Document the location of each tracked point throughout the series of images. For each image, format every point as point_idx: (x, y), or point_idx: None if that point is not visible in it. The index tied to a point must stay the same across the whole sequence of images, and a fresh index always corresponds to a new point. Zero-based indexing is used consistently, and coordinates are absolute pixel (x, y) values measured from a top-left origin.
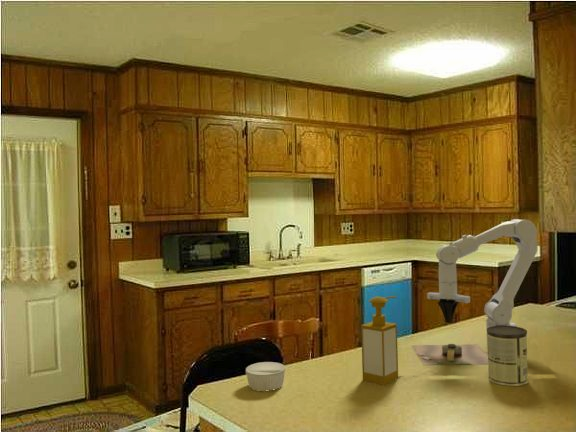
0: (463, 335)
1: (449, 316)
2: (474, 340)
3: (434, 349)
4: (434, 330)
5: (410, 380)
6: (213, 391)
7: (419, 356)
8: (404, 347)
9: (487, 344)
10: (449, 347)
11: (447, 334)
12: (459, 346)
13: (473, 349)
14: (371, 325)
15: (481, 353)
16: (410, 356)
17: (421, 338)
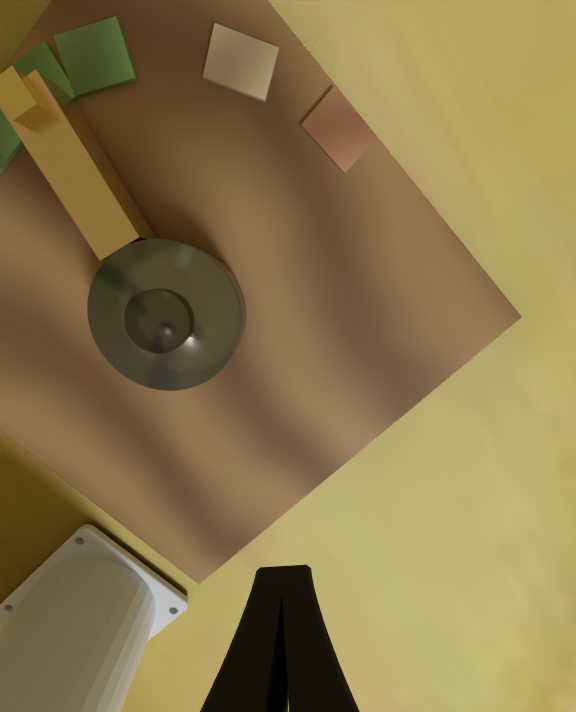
0: (383, 701)
1: (226, 656)
2: None
3: (334, 332)
4: (561, 698)
5: None
6: None
7: (320, 84)
8: (560, 299)
9: (121, 588)
10: (162, 288)
11: (463, 675)
12: (138, 378)
13: (151, 487)
14: None
15: (63, 443)
16: (415, 125)
17: (554, 537)
